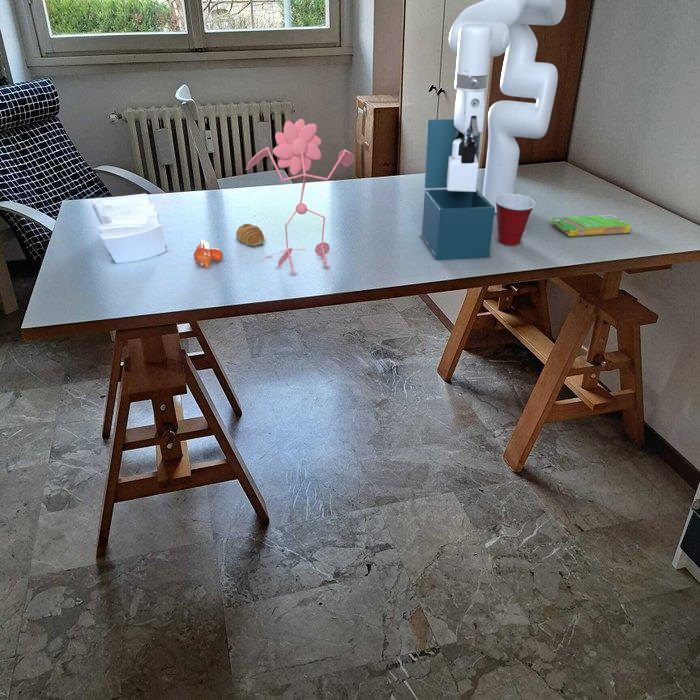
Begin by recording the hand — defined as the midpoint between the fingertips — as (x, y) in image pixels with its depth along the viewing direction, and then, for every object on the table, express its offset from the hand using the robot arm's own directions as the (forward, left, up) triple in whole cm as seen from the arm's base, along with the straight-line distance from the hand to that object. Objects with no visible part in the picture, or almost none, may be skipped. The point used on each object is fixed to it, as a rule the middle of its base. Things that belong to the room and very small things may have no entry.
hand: (463, 158), depth 165 cm
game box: (-42, -10, -24) cm, 49 cm away
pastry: (+54, -12, -24) cm, 60 cm away
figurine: (+42, +4, -24) cm, 49 cm away
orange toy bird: (+65, +2, -24) cm, 69 cm away
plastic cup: (-16, -3, -24) cm, 29 cm away
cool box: (0, -1, -24) cm, 24 cm away
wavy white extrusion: (+86, -13, -24) cm, 91 cm away
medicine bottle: (0, 0, -8) cm, 8 cm away
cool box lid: (0, -10, -1) cm, 10 cm away
